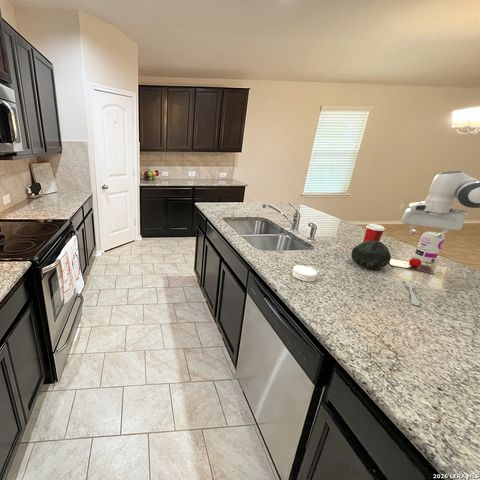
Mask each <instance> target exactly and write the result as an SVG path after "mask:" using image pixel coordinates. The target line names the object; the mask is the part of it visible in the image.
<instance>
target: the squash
mask: <svg viewBox="0 0 480 480" xmlns="http://www.w3.org/2000/svg"><path fill="white" fill-rule="evenodd" d="M350 256H351V259H352V260H353V262H355V263H356V264H357V265H360V266H362V267H363V266H364V267H365V268H366V269H368V270H379V269H382V268H384V267H386V266H387V265H389V264H390V263H389V262H390V259H392V254H391V253H390V250H389V248H388V247H387V246H386V245H385V244H384V243H383V242H381V241H380V240H379V241H365V242H363V241H362V242H360V243H359V244H358V245H356V246H354V247H353V249H352V250H351V254H350Z"/></svg>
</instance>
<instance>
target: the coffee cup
mask: <svg viewBox="0 0 480 480" xmlns="http://www.w3.org/2000/svg"><path fill="white" fill-rule="evenodd" d="M365 228H366V230H365V232H364V237H363V241H362V242H365V241H379V242H380V240H381V238H382V236H383V233H384V231H385V230H386V229H385V227H384V226H383V225H381V224H377V223H369V224H367V225H366V226H365Z"/></svg>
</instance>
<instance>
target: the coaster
mask: <svg viewBox="0 0 480 480" xmlns="http://www.w3.org/2000/svg"><path fill="white" fill-rule="evenodd" d="M291 275H292V276H293V278H295V279H296V280H299V281H303V282H310V283H311V282H314V281H316V280H317V276H318V272H317V270H315V268H313V267H310V266H307V265H301V264H299V265H294V266H293V267H292V270H291Z"/></svg>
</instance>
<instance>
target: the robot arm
mask: <svg viewBox="0 0 480 480" xmlns="http://www.w3.org/2000/svg"><path fill="white" fill-rule="evenodd" d="M455 201H458V203H460V205H462V206H463V207H466V208H470V209H480V179H478V178H475V177H472V176H469V175H468V174H466V173H465V172H464V171H462V170H450V171H442V172H440V173H438V174H437V175H436V176H434V178H433V180H432V182H431V184H430V187H429V189H428V195H427V196H426V198H425V200H424V201H418V202H411V203H410V204H409V205H408V206H409V207H408V208H407V209H405V211H404V212H403V214H402V216H401V218H400V222H401V223H402V224H403V225H408V227H409V229H410V230H409V234H411V235H415V233H416V229H413V228H414V227H415V226H419V227H426V228H427V227H428V228H435V229H442V231H441V232H436V233H437V236H436V237H439V238H442V236H443V235H445V234H447V233H448V232H449V231H450V230H452V231H460V230H461V229H462V228H463V226H464V222H465V219H466V218H467V217H468V215H469V213H468V212H467V211H466V210H465V209H458V208H452V206H453V203H454V202H455Z"/></svg>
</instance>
